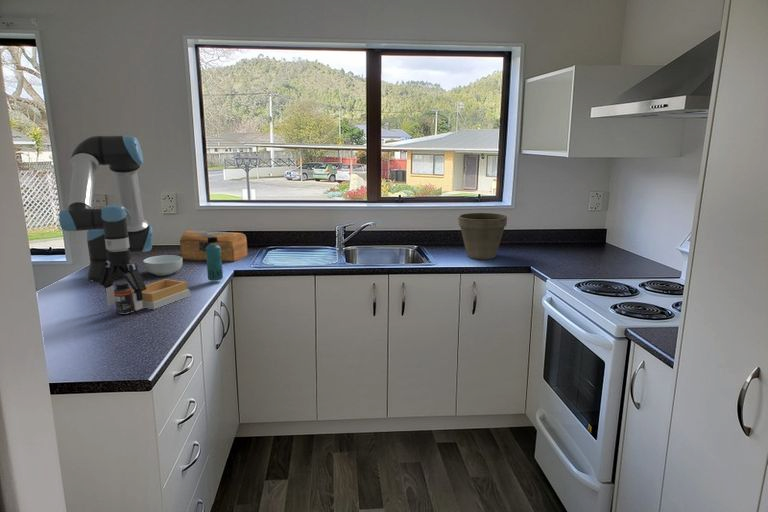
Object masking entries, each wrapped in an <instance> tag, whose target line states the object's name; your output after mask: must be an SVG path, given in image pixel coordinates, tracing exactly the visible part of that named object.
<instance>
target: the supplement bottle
mask: <svg viewBox="0 0 768 512" xmlns="http://www.w3.org/2000/svg"><path fill="white" fill-rule="evenodd" d="M115 287H116V288H114V296H115V308H116V313H117V312H119V313H127V312H131V311H134V310H135V307H134V300H133V292H132V290H133V288H132V287H131V286H130V284H129V283H128V281H119V282H116V283H115ZM135 311H136V310H135ZM135 311H134V312H135Z"/></svg>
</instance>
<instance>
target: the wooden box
mask: <svg viewBox="0 0 768 512" xmlns="http://www.w3.org/2000/svg"><path fill="white" fill-rule="evenodd" d="M209 237H217V240H218V242H216V243H208V238H209ZM210 244H218V245H219V246H220V247H221V255H222V262H223V263H235V262H237V261H240V260H242V259H243V258H245V257H248V241H247V236H246V234H245V233H243V232H232V231H231V232H228V231H211V230H186V231H185V232H184V233H183V234H182V235H181V237H180V239H179V246H180V247H179V248H180V257H182V259H183V260H184V259H185V260H184V261H201V260H205V261H206V262H207V257H206V247H207V246H208V245H210Z"/></svg>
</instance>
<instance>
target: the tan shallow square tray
mask: <svg viewBox="0 0 768 512" xmlns="http://www.w3.org/2000/svg"><path fill="white" fill-rule="evenodd" d="M187 282H188V281H182V280H174V279H170V278H169V279H167V278H164V279H160V280H158V281H155V282H154V281H153V282H151V283H148V284H145V286H146V290H143V291H142V298H143V299H142V305H143V307H148V308H153V309H155V308H158V307H161V306H164V305H167V304H169V303H172V302H175V301H177V302H179V301H178V300H180V299H183V298H185V299H187V298H186V297H188V298H189V296H190V297H191V290H190V288H188V283H187ZM132 292H134V290H133V289H132ZM133 300H134V297H133ZM183 300H184V299H183ZM180 301H181V300H180ZM175 303H176V302H175ZM172 304H173V303H172ZM167 306H168V305H167ZM164 307H165V306H164Z"/></svg>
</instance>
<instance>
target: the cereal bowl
mask: <svg viewBox="0 0 768 512" xmlns="http://www.w3.org/2000/svg"><path fill="white" fill-rule="evenodd" d="M142 261H143V262H142V263H143V268H144V269H145V271H146V272H148V273H150V274H154V275H155V276H158V277H159V276H160V277H161V276H169V275H173V274H174V273H175V272H178V271H180V269H181V268H182V266H183V259H182V257H181V255H173V254H171V255H170V254H165V255H155V256H150V257H147V258H145V259H143V260H142Z"/></svg>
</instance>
